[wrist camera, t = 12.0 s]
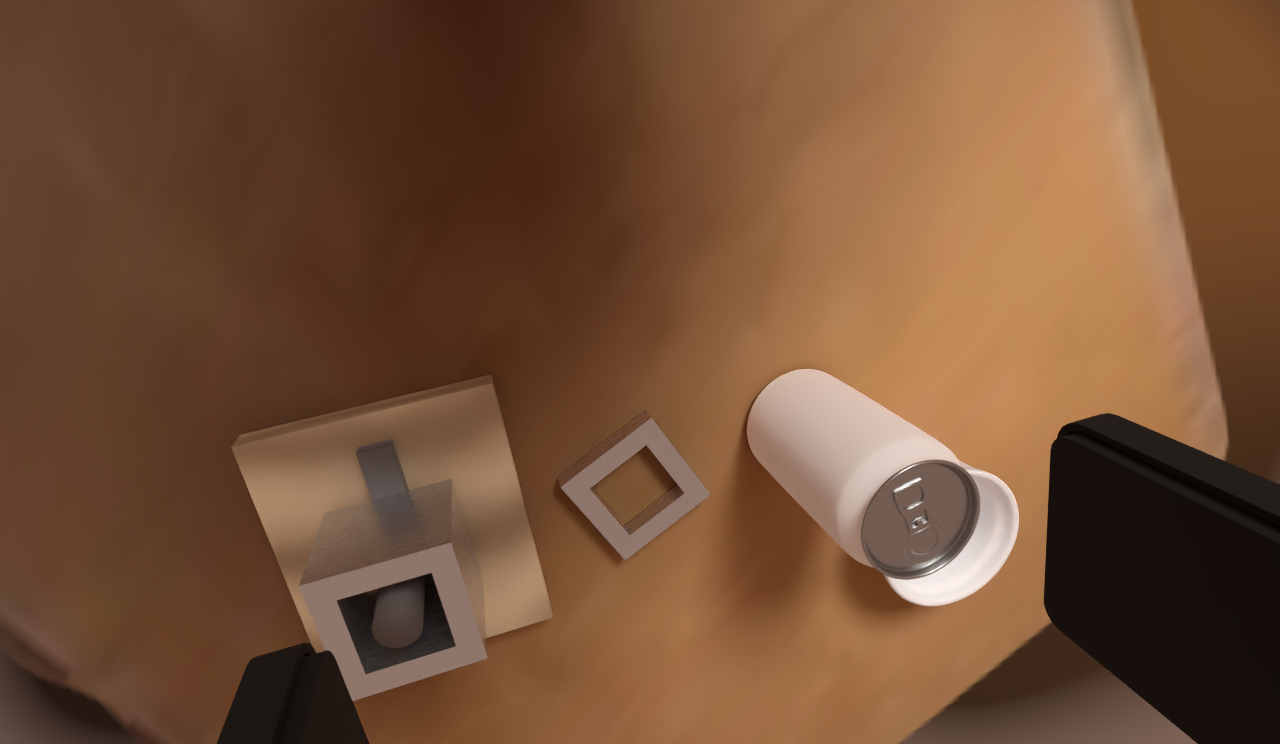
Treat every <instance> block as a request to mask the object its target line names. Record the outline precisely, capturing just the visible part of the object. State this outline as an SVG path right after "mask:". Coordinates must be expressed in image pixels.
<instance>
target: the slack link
mask: <svg viewBox="0 0 1280 744" xmlns="http://www.w3.org/2000/svg"><path fill="white" fill-rule="evenodd" d="M646 445H647V446H648V448H649V449H650V450H651V451H652V453H653V454H654V455H655V457H656V458H657V459H658V460H659V462H660V463H661V464H662V465H663V467H664V468H665V469H666V470H667V472H668V473H669V474H670V475H671V477H672V478H673V479H674V481H675V482H676V483H677V485H676V486H675V487H673V488H672V489H671V490H670V491H668V492H667V493H666V494H664V495H663V496H662V497H660V498H659V499H658V500H657V501H655V502H654V503H653V504H651V505H650V506H649V507H647V508H646V509H645V510H644V511H642V512H641V513H640V514H638V515H637V516H636V517H634V518H633V519H632V520H630V521H629V522H628V523H627V524H624V523H623V522H622V521H621V520H620V518H619V517H618V516H617V515H616V514H615V513H614V511H613V510H612V509H611V508H610V507H609V506H608V504H607V503H606V502H605V501H604V500H603V499H602V497H601V496H600V495H599V494H598V493H597V492H596V490H595V489H594V488H593V487H592V486H594V485H595V484H596V483H598V482H599V481H600V480H602V479H603V478H604V477H605V476H607V475H608V474H609V473H611V472H612V471H613V470H615V469H616V468H617V467H618V466H620V465H621V464H622V463H624V462H625V461H626V460H628V459H629V458H630V457H632V456H633V455H634V454H635V453H637V452H638V451H639V450H641V449H642V448H643V447H645V446H646ZM557 478H558V481H559V484H560V487H561V489H562V490H563V491H564V492H565V493H566V494H567V495H568V496H569V498H570V499H571V500H572V501H573V502H574V503H575V504H576V505H577V507H578V508H579V509H580V510H581V511H582V512H583V513H584V515H585V516H586V517H587V518H588V519H589V520H590V521H591V522H592V524H593V525H594V526H595V527H596V528H597V529H598V530H599V531H600V533H601V534H602V535H603V536H604V537H605V538H606V539H607V540H608V542H609V543H610V544H611V545H612V546H613V547H614V548H615V549H616V551H617V552H618V553H619V554H620V555H621V556H622V557H623V558H624V560H626V559H628V558H629V557H630V556H632V555H633V554H634V553H636V552H637V551H638V550H639V549H641V548H642V547H643V546H645V545H646V544H647V543H649V542H650V541H651V540H652V539H654V538H655V537H656V536H658V535H659V534H660V533H662V532H663V531H664V530H665V529H667V528H668V527H669V526H671V525H672V524H673V523H675V522H676V521H677V520H679V519H680V518H681V517H682V516H684V515H685V514H686V513H688V512H689V511H690V510H692V509H693V508H694V507H695V506H697V505H698V504H699V503H701V502H702V501H703V500H705V499H706V498H707V497H708V496H710V495H711V494H710V493H709V491H708V490H707V489H706V487H705V486H704V485H703V483H702V482H701V481H700V479H699V478H698V477H697V475H696V474H695V473H694V472H693V470H692V469H691V468H690V466H689V465H688V464H687V463H686V461H685V460H684V459H683V457H682V456H681V455H680V453H679V452H678V451H677V450H676V448H675V447H674V446H673V444H672V443H671V442H670V441H669V439H668V438H667V437H666V435H665V434H664V433H663V431H662V430H661V429H660V428H659V426H658V425H657V424H656V422H655V421H654V420H653V419H652V417H651V416H650V415H649V413H648V412H647V411H646V410H645V411H644V412H642V413H641V414H640V415H638V416H637V417H636V418H634V419H633V420H632V421H631V422H629V423H628V424H627V425H625V426H624V427H623V428H621V429H620V430H619V431H617V432H616V433H615V434H614V435H612V436H611V437H610V438H608V439H607V440H606V441H604V442H603V443H602V444H600V445H599V446H598V447H597V448H595V449H594V450H593V451H591V452H590V453H589V454H587V455H586V456H585V457H583V458H582V459H581V460H580V461H578V462H577V463H576V464H574V465H573V466H572V467H570V468H569V469H568V470H566V471H565V472H564V473H563V474H561V475H560V476H559V477H557Z"/></svg>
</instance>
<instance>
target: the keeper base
mask: <svg viewBox="0 0 1280 744" xmlns="http://www.w3.org/2000/svg"><path fill="white" fill-rule="evenodd" d="M231 448H232V451H233V453H234V456H235V458H236V461H237V463H238V466H239V468H240V470H241V473H242V475H243V478H244V480H245V483H246V485H247V488H248V490H249V492H250V495H251V497H252V500H253V502H254V505H255V507H256V510H257V512H258V514H259V517H260V519H261V522H262V524H263V527H264V529H265V532H266V534H267V536H268V539H269V541H270V544H271V546H272V549H273V551H274V554H275V556H276V559H277V561H278V563H279V566H280V568H281V571H282V573H283V576H284V578H285V581H286V583H287V585H288V588H289V590H290V593H291V595H292V598H293V600H294V603H295V605H296V607H297V610H298V612H299V615H300V617H301V620H302V622H303V625H304V627H305V629H306V632H307V634H308V637H309V639H310V642H311V644H312V647H313V648H314V649H315V651H316V653H319V652H323V651H325V649H324V646H323V644H322V641H321V639H320V636H319V634H318V632H317V629H316V627H315V624H314V622H313V619H312V617H311V615H310V612H309V610H308V607H307V605H306V602H305V600H304V598H303V595H302V593H301V590H300V588H299V584H300V581H301V578H302V575H303V572H304V570H305V567H306V564H307V561H308V558H309V555H310V552H311V550H312V547H313V544H314V541H315V538H316V535H317V532H318V529H319V527H320V524H321V521H322V518H323V515H324V513H327V512H330V511H334V510H338V509H341V508H345V507H349V506H352V505H356V504H360V503H364V502H367V501H371V500H375V499H378V498H382V497H386V496H389V495H393V494H397V493H401V492H404V491H408V490H412V489H415V488H419V487H423V486H426V485H430V484H434V483H438V482H441V481H445V480H449V479H452V481H453V485H454V488H455V491H456V495H457V498H458V501H459V505H460V508H461V511H462V514H463V518H464V521H465V524H466V528H467V531H468V534H469V537H470V541H471V544H472V547H473V551H474V554H475V557H476V560H477V564H478V567H479V570H480V574H481V577H482V580H483V593H484V608H485V622H486V637H487V638H488V637H492V636H495V635H498V634H501V633H505V632H508V631H511V630H515V629H518V628H521V627H524V626H528V625H531V624H534V623H537V622H541V621H544V620H547V619H551V618H554V617H553V612H552V608H551V603H550V599H549V595H548V591H547V587H546V583H545V580H544V576H543V572H542V568H541V564H540V560H539V556H538V553H537V549H536V545H535V541H534V537H533V533H532V529H531V526H530V522H529V518H528V514H527V510H526V506H525V503H524V499H523V495H522V491H521V487H520V483H519V479H518V476H517V472H516V468H515V464H514V460H513V456H512V452H511V449H510V445H509V441H508V437H507V433H506V429H505V426H504V422H503V418H502V414H501V410H500V406H499V402H498V399H497V395H496V391H495V387H494V383H493V379H492V375H491V374H490V375H486V376H482V377H477V378H473V379H469V380H465V381H461V382H457V383H453V384H448V385H444V386H440V387H436V388H432V389H428V390H424V391H419V392H415V393H411V394H407V395H403V396H399V397H394V398H390V399H386V400H382V401H378V402H374V403H370V404H365V405H361V406H357V407H353V408H349V409H345V410H341V411H336V412H332V413H328V414H324V415H320V416H316V417H312V418H307V419H303V420H299V421H295V422H291V423H287V424H283V425H278V426H274V427H270V428H266V429H262V430H258V431H254V432H249V433H245V434H241V435H240V436H239V437H238V438H237V440H236V441H235V442H234V444H233V445H232V446H231ZM431 576H433V575H432V573H429V574H426V575H422V576H419V577H415V578H412V579H408V580H405V581H402V582H398V583H395V584H391V585H388V586H384V587H381V588H378V594H377V600H376V606H375V612H374V618H373V624H372V634H373V636H374V638H375V640H376V641H377V642H378V643H380V644H381V645H383V646H385V647H389V648H402V647H406V646H408V645H410V644H412V643H413V642H415V641H416V640H417V639H418V638H419V636H420V635H421V633H422V630H423V618H424V602H425V586H426V578H427V577H431Z"/></svg>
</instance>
